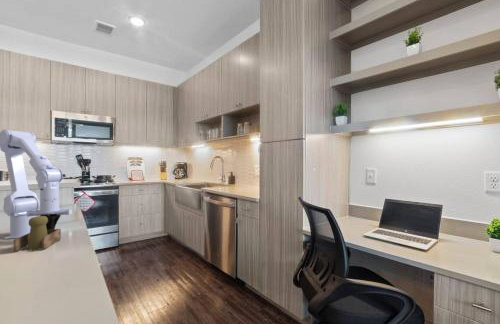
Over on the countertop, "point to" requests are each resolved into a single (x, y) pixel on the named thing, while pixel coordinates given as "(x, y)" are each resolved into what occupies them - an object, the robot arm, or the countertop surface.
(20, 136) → the robot arm
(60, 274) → the countertop surface
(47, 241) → the wooden bracket shelf
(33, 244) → the cork
